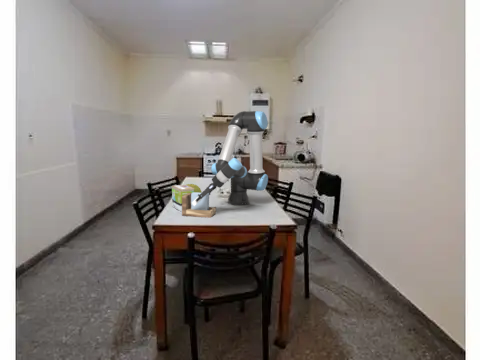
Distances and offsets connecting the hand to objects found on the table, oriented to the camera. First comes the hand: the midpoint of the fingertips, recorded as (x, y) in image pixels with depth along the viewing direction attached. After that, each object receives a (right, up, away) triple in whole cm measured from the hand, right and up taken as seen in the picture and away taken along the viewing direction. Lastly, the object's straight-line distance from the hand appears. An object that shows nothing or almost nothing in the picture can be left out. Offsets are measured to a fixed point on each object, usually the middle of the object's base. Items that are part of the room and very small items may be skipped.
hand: (196, 202), depth 206 cm
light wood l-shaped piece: (+2, -8, +1) cm, 8 cm away
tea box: (-11, -5, +15) cm, 20 cm away
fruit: (-8, -3, +32) cm, 33 cm away
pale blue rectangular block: (+2, -6, +1) cm, 7 cm away
